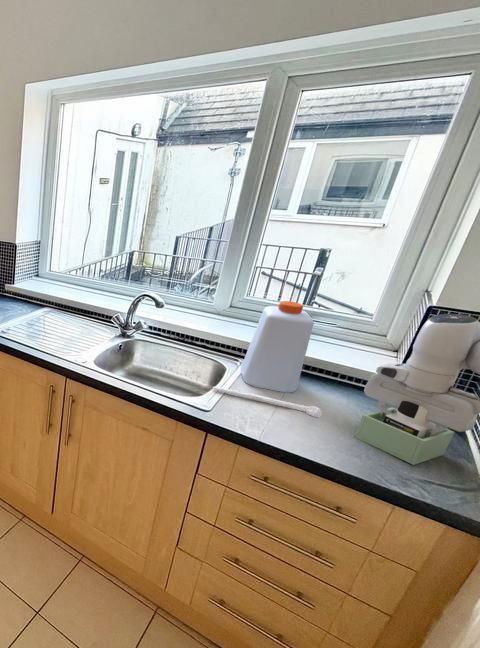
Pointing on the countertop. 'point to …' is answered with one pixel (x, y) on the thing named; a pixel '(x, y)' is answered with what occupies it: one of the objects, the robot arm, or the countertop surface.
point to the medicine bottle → (410, 419)
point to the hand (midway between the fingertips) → (405, 427)
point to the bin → (401, 439)
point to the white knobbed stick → (273, 401)
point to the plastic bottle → (278, 348)
